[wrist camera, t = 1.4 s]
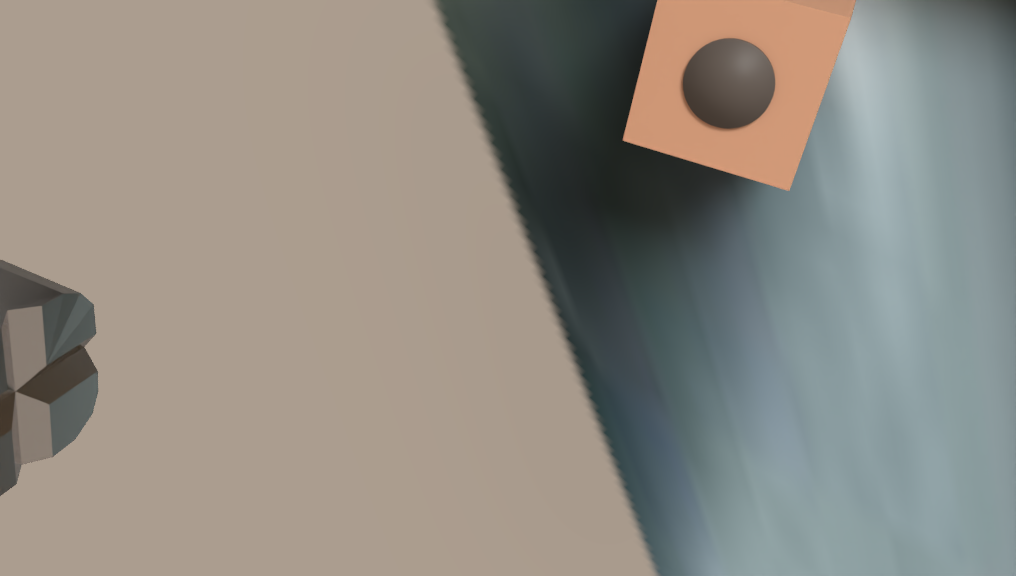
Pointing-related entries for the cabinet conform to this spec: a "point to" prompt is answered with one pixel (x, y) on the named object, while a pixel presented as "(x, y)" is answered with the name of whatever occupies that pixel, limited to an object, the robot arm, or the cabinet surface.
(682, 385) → the cabinet surface
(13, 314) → the robot arm
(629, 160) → the cabinet surface
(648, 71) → the terracotta block
